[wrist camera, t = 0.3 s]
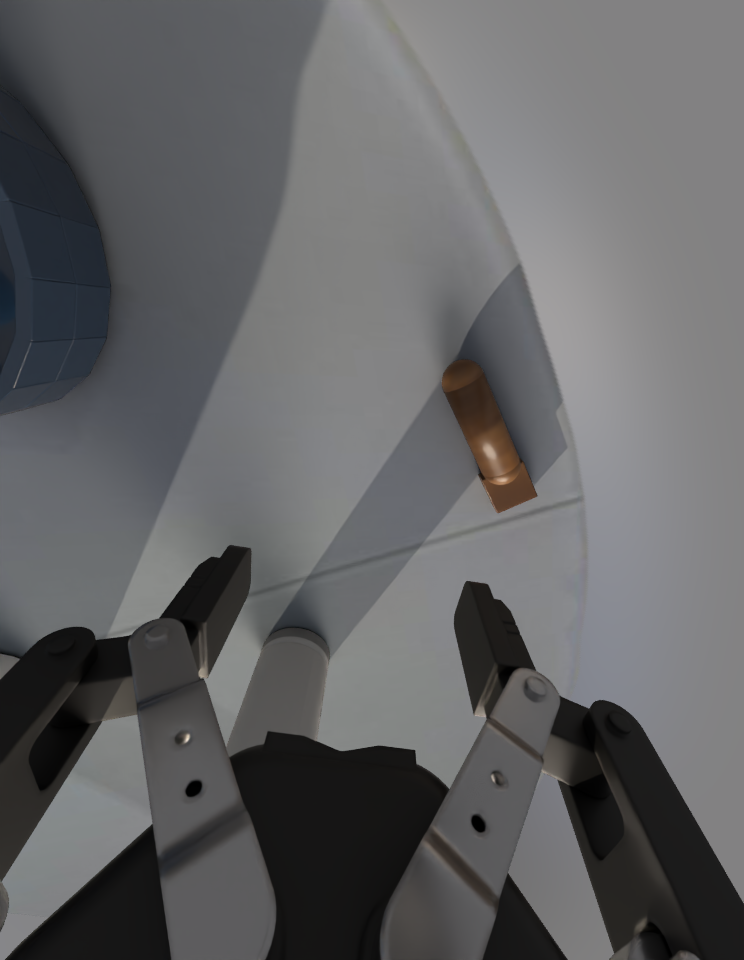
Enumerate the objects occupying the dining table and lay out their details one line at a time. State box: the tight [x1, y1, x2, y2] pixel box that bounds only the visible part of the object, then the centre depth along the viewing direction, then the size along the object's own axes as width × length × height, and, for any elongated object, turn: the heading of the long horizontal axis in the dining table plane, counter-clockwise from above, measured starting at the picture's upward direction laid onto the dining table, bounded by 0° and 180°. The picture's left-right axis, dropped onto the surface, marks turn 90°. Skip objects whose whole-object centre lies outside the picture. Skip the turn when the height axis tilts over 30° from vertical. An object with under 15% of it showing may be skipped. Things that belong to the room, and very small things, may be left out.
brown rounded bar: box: [442, 359, 537, 513], centre depth 24 cm, size 11×3×3 cm, turn 29°
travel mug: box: [226, 628, 330, 757], centre depth 25 cm, size 6×7×20 cm
